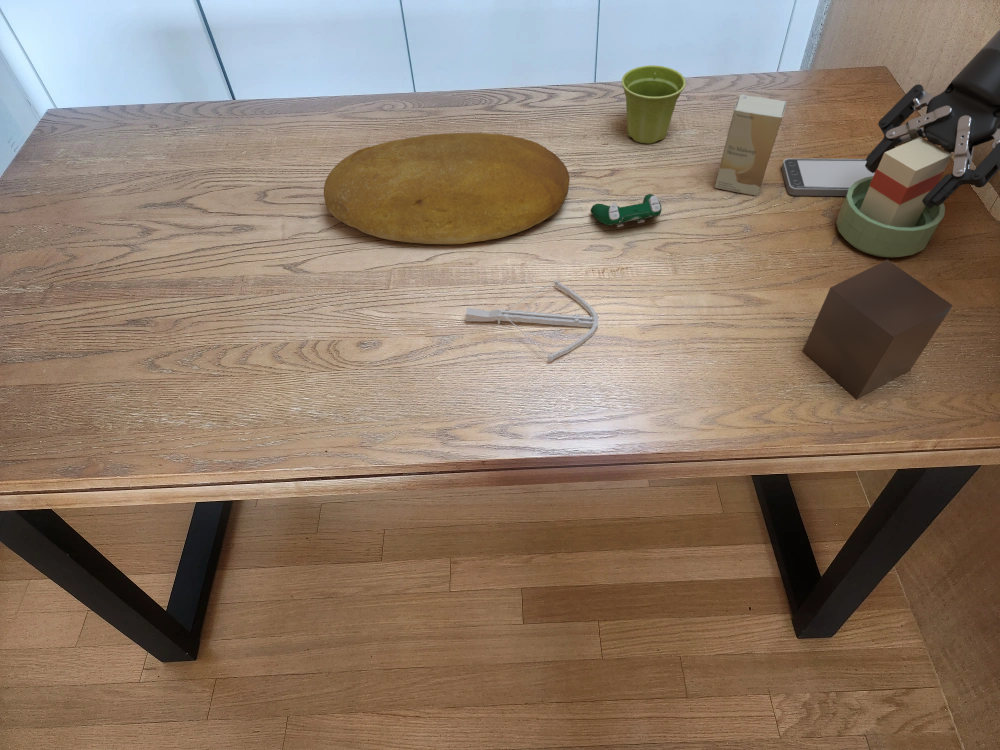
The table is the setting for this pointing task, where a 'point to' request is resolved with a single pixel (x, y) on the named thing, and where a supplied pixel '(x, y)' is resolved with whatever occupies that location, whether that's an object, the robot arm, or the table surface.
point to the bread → (447, 188)
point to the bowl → (884, 227)
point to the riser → (874, 327)
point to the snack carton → (904, 182)
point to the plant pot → (651, 101)
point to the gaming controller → (627, 211)
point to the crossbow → (543, 319)
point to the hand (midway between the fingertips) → (896, 186)
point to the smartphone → (822, 176)
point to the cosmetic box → (749, 143)
